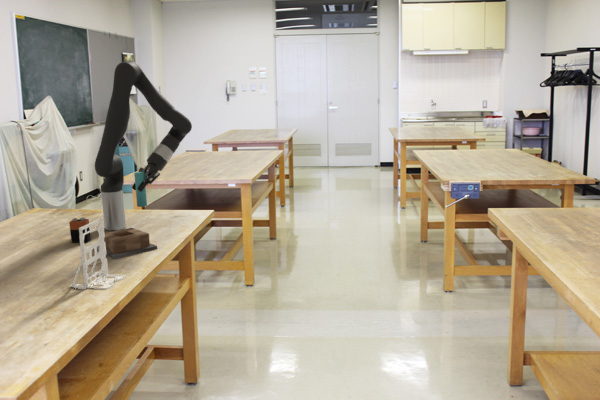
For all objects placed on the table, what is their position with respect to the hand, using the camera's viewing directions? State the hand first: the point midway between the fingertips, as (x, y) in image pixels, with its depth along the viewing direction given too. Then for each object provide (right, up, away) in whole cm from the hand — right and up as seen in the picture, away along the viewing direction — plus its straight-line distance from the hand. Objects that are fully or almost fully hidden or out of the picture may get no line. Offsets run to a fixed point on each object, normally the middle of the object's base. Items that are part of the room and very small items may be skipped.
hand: (136, 189), depth 241 cm
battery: (-24, -22, +2) cm, 32 cm away
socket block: (-1, -24, -11) cm, 26 cm away
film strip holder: (+1, -32, -48) cm, 57 cm away
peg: (+2, -7, +3) cm, 7 cm away
